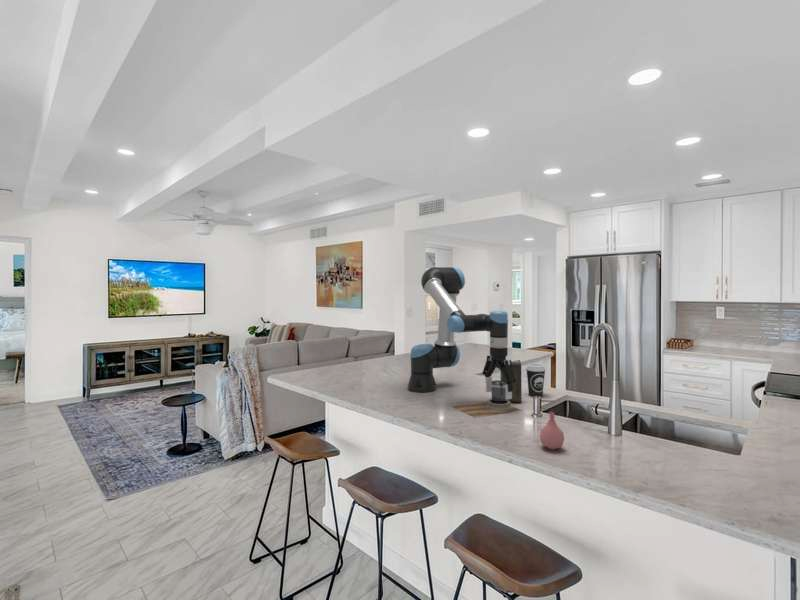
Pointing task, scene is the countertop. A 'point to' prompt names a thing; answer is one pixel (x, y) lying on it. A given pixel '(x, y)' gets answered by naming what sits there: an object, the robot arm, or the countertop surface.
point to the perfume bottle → (552, 434)
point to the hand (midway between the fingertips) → (498, 395)
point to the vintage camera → (516, 386)
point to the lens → (498, 392)
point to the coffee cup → (535, 379)
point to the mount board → (486, 408)
